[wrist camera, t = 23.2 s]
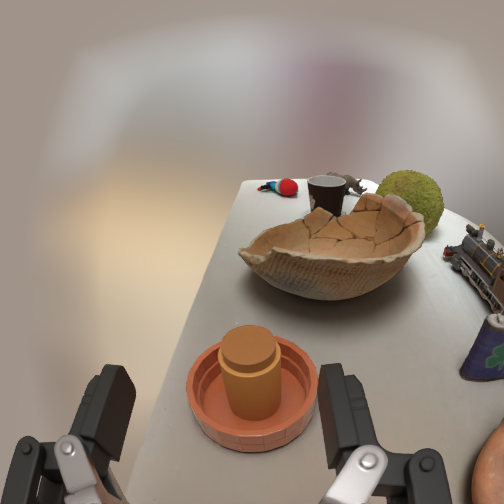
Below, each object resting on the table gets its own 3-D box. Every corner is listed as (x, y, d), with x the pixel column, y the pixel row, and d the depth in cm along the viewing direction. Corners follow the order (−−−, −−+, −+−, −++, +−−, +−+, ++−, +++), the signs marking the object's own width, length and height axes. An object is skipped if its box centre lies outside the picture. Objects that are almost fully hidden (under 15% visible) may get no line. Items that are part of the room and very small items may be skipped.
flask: (508, 363, 27) (543, 302, 22) (513, 379, 25) (551, 317, 19) (457, 365, 30) (488, 300, 25) (460, 383, 27) (496, 318, 22)
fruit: (383, 247, 57) (365, 174, 56) (382, 240, 70) (367, 181, 70) (456, 230, 50) (438, 157, 50) (441, 227, 63) (427, 167, 63)
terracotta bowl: (189, 452, 25) (177, 434, 23) (202, 360, 36) (195, 335, 34) (320, 449, 24) (326, 430, 22) (306, 355, 36) (308, 330, 33)
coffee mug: (344, 231, 64) (346, 187, 59) (305, 228, 66) (305, 185, 62) (343, 211, 74) (344, 173, 69) (309, 209, 76) (309, 171, 71)
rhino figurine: (363, 200, 80) (364, 180, 77) (320, 191, 88) (321, 172, 85) (368, 196, 82) (369, 177, 80) (327, 188, 90) (327, 169, 88)
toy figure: (255, 195, 93) (287, 198, 81) (254, 179, 92) (285, 180, 79) (275, 191, 97) (307, 194, 85) (273, 176, 95) (306, 177, 83)
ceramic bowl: (275, 221, 66) (284, 156, 58) (394, 256, 59) (417, 192, 51) (209, 311, 43) (209, 219, 34) (391, 370, 36) (442, 288, 27)
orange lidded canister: (227, 421, 28) (212, 368, 23) (230, 380, 32) (218, 322, 28) (282, 420, 27) (282, 366, 23) (279, 378, 32) (278, 320, 28)
